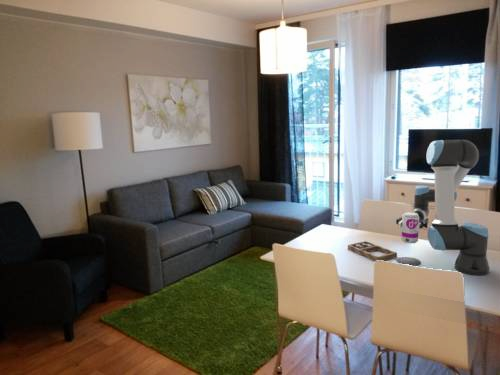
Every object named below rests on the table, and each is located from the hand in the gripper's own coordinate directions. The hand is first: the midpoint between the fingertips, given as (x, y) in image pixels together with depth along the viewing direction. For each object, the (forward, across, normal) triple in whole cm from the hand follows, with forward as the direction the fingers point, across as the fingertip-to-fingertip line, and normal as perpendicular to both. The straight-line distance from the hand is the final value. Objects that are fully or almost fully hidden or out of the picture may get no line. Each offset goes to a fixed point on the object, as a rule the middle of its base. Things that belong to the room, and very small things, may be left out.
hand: (408, 227), depth 201 cm
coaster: (-5, 0, -20) cm, 21 cm away
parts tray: (-8, +21, -20) cm, 30 cm away
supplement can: (-5, 0, -9) cm, 10 cm away
